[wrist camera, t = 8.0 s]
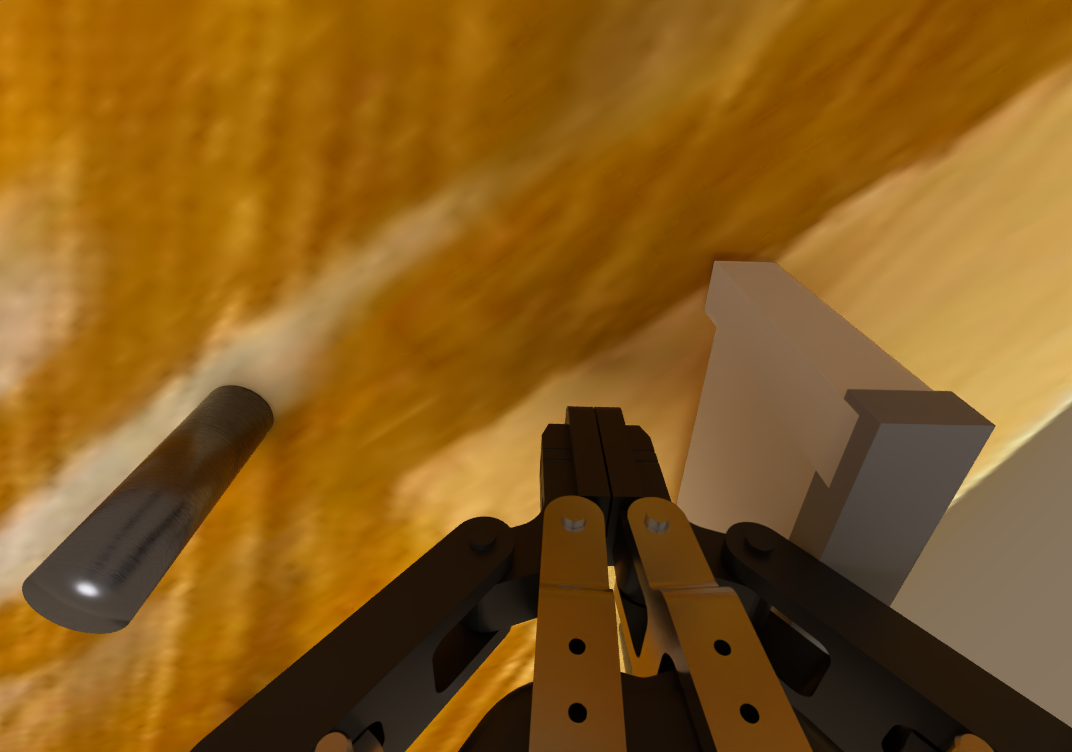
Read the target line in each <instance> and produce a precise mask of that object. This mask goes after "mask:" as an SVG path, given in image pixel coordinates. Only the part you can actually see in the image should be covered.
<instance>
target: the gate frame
mask: <svg viewBox="0 0 1072 752" xmlns="http://www.w3.org/2000/svg"><path fill="white" fill-rule="evenodd" d="M272 424H273V415H272V412H271V409H270V408H269V406H268V405H267V403H266V402H265V401H264V400H263V399H262V398H261V397H260V396H258V395H257V394H255V393H254V392H252V391H250V390H248V389H245V388H242V387H237V386H224V387H220V388H217V389H215V390H214V391H212V392H211V393H210V394H209V395H208V396H207V397H206V398H205V399H204V400H203V401H202V402H201V403H200V404H199V405H198V406H197V407H196V408H195V409H194V410H193V411H192V413H191V414H190V415H189V416H188V417H187V418H186V419H185V420H184V421H183V422H182V423H181V424H180V425H179V426H178V427H177V428H176V429H175V430H174V431H173V432H172V433H171V434H170V435H169V436H168V437H167V438H166V439H165V440H164V441H163V442H162V443H161V444H160V445H159V446H158V447H157V448H156V449H155V450H154V451H153V452H152V453H151V454H150V455H149V456H148V457H147V458H146V459H145V460H144V461H143V462H142V463H141V464H140V465H139V466H138V467H137V468H136V469H135V470H134V471H133V472H132V473H131V474H130V475H129V476H128V477H127V478H126V479H125V480H124V481H123V482H122V483H121V484H120V485H119V486H118V487H117V488H116V489H115V490H114V491H113V492H112V493H111V494H110V495H109V496H108V497H107V498H106V499H105V500H104V501H103V502H102V503H101V504H100V505H99V506H98V507H97V508H96V509H95V510H94V511H93V512H92V513H91V514H90V515H89V516H88V517H87V518H86V519H85V520H84V521H83V522H82V523H81V524H80V525H79V526H78V527H77V528H76V529H75V530H74V531H73V532H72V533H71V534H70V535H69V536H68V537H67V538H66V539H65V540H64V541H63V542H62V543H61V544H60V545H59V546H58V547H57V548H56V549H55V550H54V551H53V552H52V553H51V554H50V555H49V556H48V558H47V559H46V560H45V561H44V562H43V563H42V564H41V565H40V566H39V567H38V568H37V569H36V570H35V571H34V572H33V573H32V574H31V575H30V576H29V577H28V578H27V579H26V580H25V581H24V583H23V586H22V591H23V595H24V597H25V599H26V601H27V602H28V604H29V605H30V606H31V607H32V608H33V609H34V610H35V611H36V612H37V613H39V614H40V615H41V616H43V617H45V618H46V619H48V620H50V621H51V622H53V623H56V624H58V625H60V626H63V627H65V628H68V629H72V630H76V631H80V632H85V633H95V634H103V633H112V632H116V631H119V630H121V629H123V628H125V627H126V626H127V625H128V624H129V623H130V621H131V620H132V619H133V617H134V616H135V614H136V613H137V612H138V610H139V609H140V608H141V606H142V605H143V603H144V602H145V601H146V599H147V598H148V597H149V595H150V594H151V592H152V591H153V590H154V588H155V587H156V586H157V584H158V583H159V581H160V580H161V579H162V577H163V576H164V575H165V573H166V572H167V570H168V569H169V568H170V566H171V565H172V564H173V562H174V561H175V560H176V558H177V557H178V555H179V554H180V553H181V551H182V550H183V549H184V547H185V546H186V544H187V543H188V542H189V540H190V539H191V538H192V536H193V535H194V533H195V532H196V531H197V529H198V528H199V527H200V525H201V524H202V522H203V521H204V520H205V518H206V517H207V516H208V514H209V513H210V511H211V510H212V509H213V507H214V506H215V505H216V503H217V502H218V501H219V499H220V498H221V496H222V495H223V494H224V492H225V491H226V490H227V488H228V487H229V485H230V484H231V483H232V481H233V480H234V479H235V477H236V476H237V474H238V473H239V472H240V470H241V469H242V468H243V466H244V465H245V463H246V462H247V461H248V459H249V458H250V457H251V455H252V454H253V452H254V451H255V450H256V448H257V447H258V446H259V444H260V443H261V442H262V440H263V439H264V437H265V436H266V435H267V433H268V432H269V431H270V429H271V427H272ZM619 633H620V640H621V647H622V653H623V660H624V666H625V673H626V674H630V675H633V672H632V666H631V661H630V657H629V653H628V649H627V645H626V641H625V637H624V633H623V629H622V625H621V623H620V626H619Z"/></svg>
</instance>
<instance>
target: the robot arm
mask: <svg viewBox="0 0 1072 752" xmlns="http://www.w3.org/2000/svg"><path fill="white" fill-rule="evenodd" d="M540 507H541V512H540V514H539V515H538V516H537V517H536V518H535V519H533V520H532V521H530V522H528V523H526V524H523V525H520V526H516V527H512V528H510V527H509V526H508V525H507V524H506V523H504V522H503V521H501V520H499V519H496V518H492V517H476V518H472V519H469V520H467V521H465V522H463V523H462V524H460V525H459V526H458V527H457V528H455V529H454V530H453V531H452V532H451V533H449V534H448V535H447V536H446V537H445V538H443V539H442V540H441V541H440V542H439V543H437V544H436V545H435V546H434V547H433V548H431V549H430V550H429V551H428V552H427V553H425V554H424V555H423V556H422V557H421V558H419V559H418V560H417V561H416V562H415V563H413V564H412V565H411V566H410V567H409V568H407V569H406V570H405V571H404V572H403V573H401V574H400V575H399V576H398V577H397V578H395V579H394V580H393V581H392V582H391V583H389V584H388V585H387V586H386V587H385V588H383V589H382V590H381V591H380V592H379V593H377V594H376V595H375V596H374V597H373V598H371V599H370V600H369V601H368V602H367V603H365V604H364V605H363V606H362V607H361V608H359V609H358V610H357V611H356V612H355V613H353V614H352V615H351V616H350V617H349V618H347V619H346V620H345V621H344V622H343V623H341V624H340V625H339V626H338V627H337V628H335V629H334V630H333V631H332V632H331V633H329V634H328V635H327V636H326V637H325V638H323V639H322V640H321V641H320V642H319V643H317V644H316V645H315V646H314V647H313V648H311V649H310V650H309V651H308V652H307V653H305V654H304V655H303V656H302V657H301V658H299V659H298V660H297V661H296V662H295V663H293V664H292V665H291V666H290V667H289V668H287V669H286V670H285V671H284V672H283V673H281V674H280V675H279V676H278V677H277V678H275V679H274V680H273V681H272V682H271V683H269V684H268V685H267V686H266V687H265V688H263V689H262V690H261V691H260V692H259V693H257V694H256V695H255V696H254V697H253V698H251V699H250V700H249V701H248V702H247V703H245V704H244V705H243V706H242V707H241V708H239V709H238V710H237V711H236V712H235V713H233V714H232V715H231V716H230V717H229V718H227V719H226V720H225V721H224V722H223V723H221V724H220V725H219V726H218V727H217V728H215V729H214V730H213V731H212V732H211V733H209V734H208V735H207V736H206V737H205V738H203V739H202V740H201V741H200V742H199V743H198V744H197V745H196V746H195V747H194V748H193V749H192V750H191V751H190V752H405V751H406V750H407V749H408V748H409V746H410V745H411V744H412V743H413V742H414V741H415V740H416V738H417V737H418V736H419V735H420V734H421V733H422V732H423V730H424V729H425V728H426V727H427V726H428V725H429V724H430V722H431V721H432V720H433V719H434V718H435V717H436V716H437V714H438V713H439V712H440V711H441V710H442V709H443V708H444V706H445V705H446V704H447V703H448V702H449V701H450V700H451V698H452V697H453V696H454V695H455V694H456V693H457V692H458V690H459V689H460V688H461V687H462V686H463V685H464V684H465V682H466V681H467V680H468V679H469V678H470V677H471V676H472V674H473V673H474V672H475V671H476V670H477V669H478V668H479V666H480V665H481V664H482V663H483V662H484V661H485V660H486V658H487V657H488V656H489V655H490V654H491V653H492V652H493V650H494V649H495V648H496V647H497V646H498V645H499V644H500V642H501V641H502V640H503V639H504V638H505V637H506V635H507V634H508V633H509V631H510V629H511V626H513V625H516V624H519V623H522V622H525V621H528V620H531V619H534V618H537V632H536V647H535V663H534V678H533V682H530V683H528V684H526V685H523V686H521V687H519V688H517V689H515V690H514V691H512V692H510V693H509V694H507V695H506V696H505V697H504V698H502V699H501V700H500V701H498V702H497V703H496V704H495V705H494V706H493V707H492V708H491V709H490V711H489V712H488V713H487V714H486V715H485V716H484V717H483V719H482V720H481V721H480V723H479V724H478V725H477V727H476V728H475V729H474V731H473V732H472V733H471V735H470V736H469V737H468V739H467V740H466V741H465V743H464V744H463V745H462V747H461V748H460V750H459V751H458V752H1072V728H1071V727H1069V726H1068V725H1067V724H1065V723H1064V722H1062V721H1061V720H1059V719H1058V718H1056V717H1055V716H1053V715H1052V714H1050V713H1049V712H1047V711H1045V710H1044V709H1043V708H1041V707H1040V706H1038V705H1036V704H1035V703H1033V702H1032V701H1030V700H1029V699H1027V698H1026V697H1024V696H1023V695H1021V694H1020V693H1018V692H1017V691H1015V690H1014V689H1012V688H1011V687H1009V686H1008V685H1006V684H1005V683H1003V682H1002V681H1000V680H999V679H997V678H996V677H994V676H993V675H991V674H989V673H988V672H987V671H985V670H984V669H982V668H981V667H979V666H978V665H976V664H975V663H973V662H972V661H970V660H968V659H967V658H966V657H964V656H963V655H961V654H959V653H958V652H957V651H955V650H954V649H952V648H951V647H949V646H948V645H946V644H944V643H943V642H941V641H940V640H938V639H937V638H935V637H934V636H932V635H931V634H929V633H928V632H926V631H925V630H923V629H922V628H920V627H919V626H917V625H916V624H914V623H913V622H911V621H910V620H908V619H907V618H905V617H903V616H902V615H901V614H899V613H898V612H896V611H894V610H893V609H892V608H890V607H889V606H887V605H886V604H884V603H883V602H881V601H880V600H878V599H877V598H875V597H874V596H872V595H871V594H869V593H868V592H866V591H865V590H863V589H862V588H860V587H859V586H857V585H856V584H854V583H853V582H851V581H850V580H848V579H846V578H845V577H843V576H842V575H840V574H839V573H837V572H836V571H834V570H833V569H831V568H830V567H828V566H827V565H825V564H824V563H822V562H821V561H819V560H818V559H816V558H815V557H813V556H812V555H810V554H809V553H807V552H806V551H804V550H803V549H801V548H800V547H798V546H797V545H795V544H794V543H792V542H791V541H789V540H788V539H786V538H785V537H783V536H782V535H780V534H779V533H777V532H776V531H774V530H772V529H771V528H769V527H767V526H764V525H762V524H759V523H754V522H739V523H736V524H734V525H732V526H731V527H730V528H729V529H728V530H727V532H726V534H725V533H721V532H717V531H714V530H710V529H706V528H703V527H700V526H697V525H695V524H693V523H691V522H689V521H688V519H687V517H686V515H685V513H684V512H683V511H682V510H681V509H680V508H679V507H678V506H677V505H675V504H674V503H672V502H671V499H670V496H669V493H668V490H667V487H666V484H665V481H664V478H663V475H662V472H661V469H660V466H659V464H658V459H657V456H656V453H654V447H653V444H652V441H651V438H650V437H649V436H648V434H647V433H646V432H645V431H644V430H643V429H642V428H641V427H640V426H635V425H625V421H624V418H623V414H622V410H621V408H620V407H594V408H593V407H573V406H567V409H566V419H565V424H548V426H547V428H546V429H545V431H544V432H543V434H542V441H541V459H540ZM608 566H614V568H615V574H616V580H615V586H614V592H613V590H612V589H609V580H608ZM614 597H615V598H614ZM615 601H616V605H617V609H618V613H619V617H620V621H621V625H622V629H623V633H624V637H625V641H626V645H627V649H628V653H629V657H630V661H631V666H632V672H633V675H630V674H626V673H623V672H620V660H619V647H618V634H617V622H616V609H615ZM772 606H773V607H774V608H776V609H777V610H778V611H780V612H781V613H782V614H783V615H785V616H786V617H787V618H789V619H790V620H791V621H793V622H794V623H795V624H797V625H798V626H799V627H800V628H802V629H803V630H804V631H806V632H807V633H808V634H810V635H811V636H812V637H813V638H815V639H816V640H817V641H819V642H820V643H821V644H822V645H823V646H824V647H825V649H826V650H827V652H828V654H827V653H825V652H824V651H822V650H821V649H820V648H818V647H817V646H816V645H815V644H813V643H812V642H811V641H809V640H808V639H807V638H806V637H804V636H803V635H802V634H800V633H799V632H798V631H797V630H795V629H794V628H793V627H791V626H790V625H789V624H788V623H786V622H785V621H784V620H782V619H781V618H780V617H778V616H777V615H776V614H775V613H773V612H772V611H771V607H772Z"/></svg>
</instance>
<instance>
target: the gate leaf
mask: <svg viewBox="0 0 1072 752" xmlns="http://www.w3.org/2000/svg"><path fill="white" fill-rule="evenodd" d="M704 311H705V312H706V314H707V315H708V317H709V318H710V320H711V321H712V322H713V324H714V325H715V327H716V331H715V335H714V340H713V344H712V349H711V353H710V358H709V362H708V367H707V371H706V376H705V380H704V385H703V389H702V393H701V398H700V402H699V407H698V411H697V416H696V420H695V425H694V429H693V434H692V438H691V442H690V447H689V451H688V456H687V460H686V465H685V469H684V474H683V478H682V483H681V487H680V491H679V496H678V500H677V506H678V507H679V508H680V509H681V510H682V511H683V512H684V513H685V515H686V517H687V519H688V521H689V522H691V523H693V524H695V525H697V526H700V527H703V528H706V529H710V530H714V531H717V532H721V533H725V534H726V532H727V530H728V529H729V528H730V527H731V526H732V525H734V524H736V523H739V522H754V523H759V524H762V525H764V526H767V527H769V528H771V529H772V530H774V531H776V532H777V533H779V534H780V535H782V536H783V537H785V538H786V539H788V540H789V541H791V542H792V543H794V544H795V545H797V546H798V547H800V548H801V549H803V550H804V551H806V552H807V553H809V554H810V555H812V556H813V557H815V558H816V559H818V560H819V561H821V562H822V563H824V564H825V565H827V566H828V567H830V568H831V569H833V570H834V571H836V572H837V573H839V574H840V575H842V576H843V577H845V578H846V579H848V580H850V581H851V582H853V583H854V584H856V585H857V586H859V587H860V588H862V589H863V590H865V591H866V592H868V593H869V594H871V595H872V596H874V597H875V598H877V599H878V600H880V601H881V602H883V603H884V604H886V605H887V606H889V607H890V605H891V603H892V602H893V600H894V598H895V597H896V595H897V593H898V591H899V589H900V588H901V586H902V585H903V583H904V581H905V579H906V578H907V576H908V574H909V573H910V571H911V569H912V568H913V566H914V564H915V562H916V561H917V559H918V557H919V556H920V554H921V552H922V551H923V549H924V547H925V545H926V544H927V542H928V540H929V539H930V537H931V535H932V533H933V532H934V530H935V528H936V526H937V525H938V523H939V522H940V520H941V518H942V517H943V515H944V513H945V511H946V510H947V508H948V506H949V505H950V503H951V501H952V499H953V498H954V496H955V494H956V493H957V491H958V489H959V488H960V486H961V484H962V482H963V481H964V479H965V477H966V476H967V474H968V472H969V471H970V469H971V467H972V465H973V464H974V462H975V460H976V459H977V457H978V455H979V453H980V452H981V450H982V448H983V447H984V445H985V443H986V442H987V440H988V438H989V436H990V435H991V433H992V431H993V430H994V428H995V425H994V424H993V423H991V422H990V421H989V420H988V419H986V418H985V417H984V416H982V415H981V414H980V413H979V412H977V411H976V410H975V409H973V408H972V407H971V406H970V405H968V404H967V403H966V402H964V401H963V400H962V399H960V398H959V397H958V396H957V395H955V394H954V393H953V392H951V391H933V390H932V389H931V388H929V387H928V386H927V385H926V384H925V383H923V382H922V381H921V380H920V379H918V378H917V377H916V376H915V375H913V374H912V373H911V372H910V371H908V370H907V369H906V368H905V367H904V366H902V365H901V364H900V363H899V362H897V361H896V360H895V359H894V358H892V357H891V356H890V355H889V354H887V353H886V352H885V351H884V350H882V349H881V348H880V347H879V346H878V345H876V344H875V343H874V342H873V341H871V340H870V339H869V338H868V337H866V336H865V335H864V334H863V333H861V332H860V331H859V330H858V329H857V328H855V327H854V326H853V325H852V324H850V323H849V322H848V321H847V320H845V319H844V318H843V317H842V316H840V315H839V314H838V313H837V312H836V311H834V310H833V309H832V308H831V307H829V306H828V305H827V304H826V303H824V302H823V301H822V300H821V299H819V298H818V297H817V296H816V295H814V294H813V293H812V292H811V291H810V290H808V289H807V288H806V287H805V286H803V285H802V284H801V283H800V282H798V281H797V280H796V279H795V278H793V277H792V276H791V275H790V274H789V273H787V272H786V271H785V270H784V269H782V268H781V267H780V266H779V265H777V264H776V263H775V262H745V261H714V266H713V270H712V275H711V280H710V285H709V290H708V294H707V299H706V304H705V309H704ZM771 611H772V612H773V613H775V614H776V615H777V616H778V617H780V618H781V619H782V620H784V621H785V622H786V623H788V624H789V625H790V626H791V627H793V628H794V629H795V630H797V631H798V632H799V633H800V634H802V635H803V636H804V637H806V638H807V639H808V640H809V641H811V642H812V643H813V644H815V645H816V646H817V647H818V648H820V649H821V650H822V651H824V652H825V653H827V654H828V652H827V650H826V649H825V647H824V646H823V645H822V644H821V643H820V642H819V641H817V640H816V639H815V638H813V637H812V636H811V635H810V634H808V633H807V632H806V631H804V630H803V629H802V628H800V627H799V626H798V625H797V624H795V623H794V622H793V621H791V620H790V619H789V618H787V617H786V616H785V615H783V614H782V613H781V612H780V611H778V610H777V609H776V608H774V607H773V606H772V607H771Z"/></svg>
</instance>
